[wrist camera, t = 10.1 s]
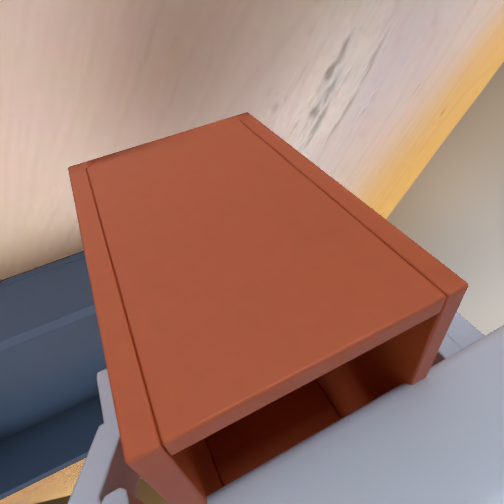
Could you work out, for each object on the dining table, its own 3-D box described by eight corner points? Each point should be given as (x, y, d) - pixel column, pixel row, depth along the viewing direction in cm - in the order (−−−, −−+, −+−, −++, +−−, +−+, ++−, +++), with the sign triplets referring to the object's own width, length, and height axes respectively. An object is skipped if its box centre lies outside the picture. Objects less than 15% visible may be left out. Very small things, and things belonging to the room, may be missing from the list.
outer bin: (118, 238, 28) (134, 288, 24) (176, 357, 40) (192, 404, 36) (-171, 342, 23) (-212, 426, 19) (-6, 441, 35) (-10, 505, 31)
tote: (247, 111, 12) (471, 283, 6) (269, 297, 19) (385, 466, 13) (67, 166, 11) (123, 465, 5) (161, 346, 18) (234, 563, 12)
